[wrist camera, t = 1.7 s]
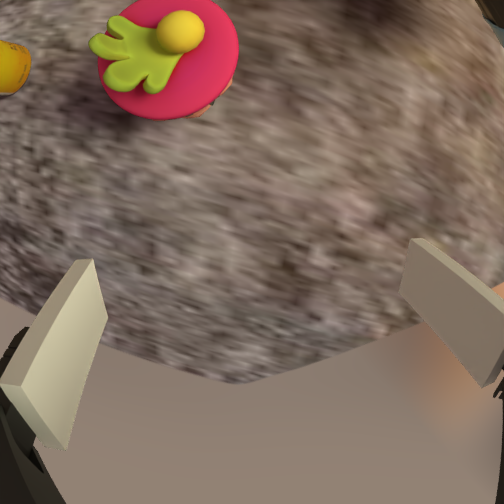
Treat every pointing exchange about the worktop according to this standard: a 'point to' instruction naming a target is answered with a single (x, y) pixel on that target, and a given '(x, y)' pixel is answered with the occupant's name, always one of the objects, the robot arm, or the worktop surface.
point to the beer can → (13, 67)
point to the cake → (167, 57)
